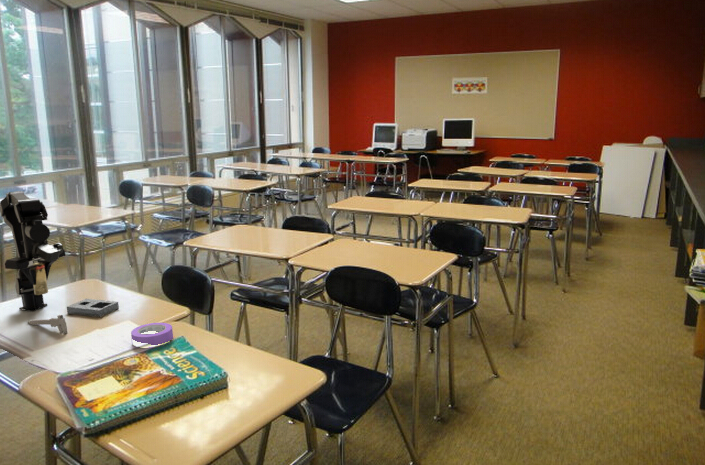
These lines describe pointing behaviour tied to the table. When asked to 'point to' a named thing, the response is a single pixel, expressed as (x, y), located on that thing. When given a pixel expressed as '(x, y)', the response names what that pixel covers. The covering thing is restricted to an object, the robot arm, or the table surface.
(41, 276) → the tan cylindrical container
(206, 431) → the table surface
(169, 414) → the table surface
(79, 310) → the grey flat block
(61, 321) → the caliper
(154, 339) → the masking tape
